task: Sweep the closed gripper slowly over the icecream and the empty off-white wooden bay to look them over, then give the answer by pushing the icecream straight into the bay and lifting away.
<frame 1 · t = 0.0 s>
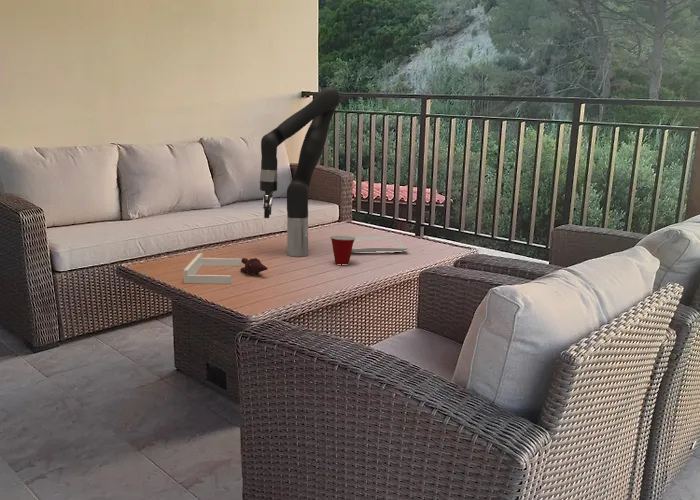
hand: (267, 216, 280), 17 cm above the table, tool pointing down, fingers open, 8 cm apart
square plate: (373, 249, 300), on the table
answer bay: (216, 273, 250), on the table
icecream: (254, 275, 250), on the table
plastic cup: (342, 264, 271), on the table
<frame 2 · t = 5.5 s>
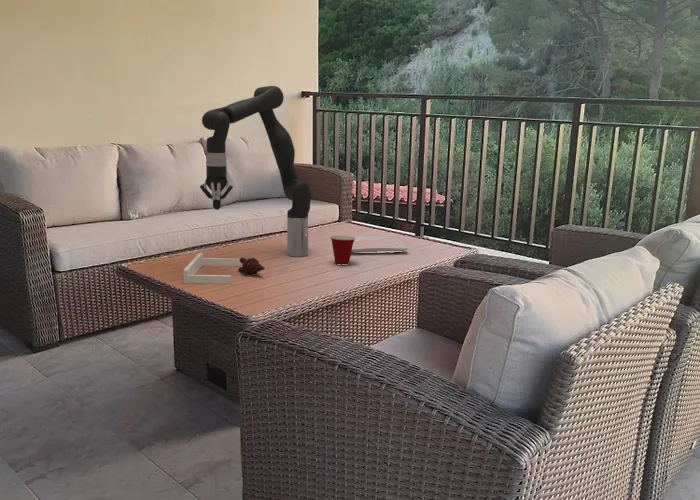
hand: (216, 209, 246), 26 cm above the table, tool pointing down, fingers closed
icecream: (251, 275, 250), on the table
everything else where it was.
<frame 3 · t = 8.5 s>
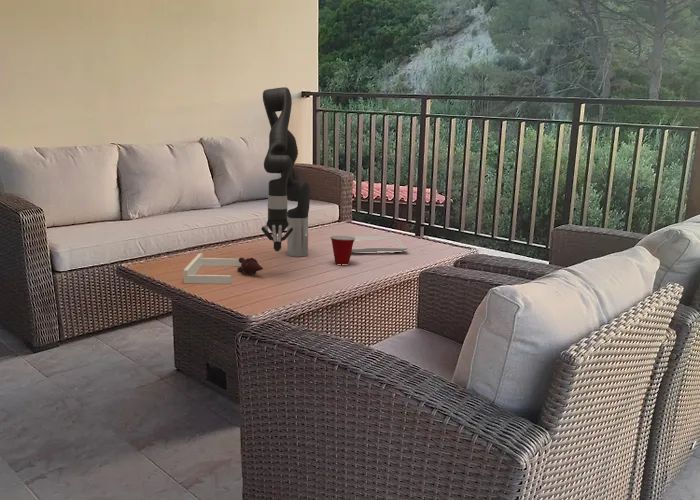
hand: (277, 250, 248), 10 cm above the table, tool pointing down, fingers closed
nothing on the table moved.
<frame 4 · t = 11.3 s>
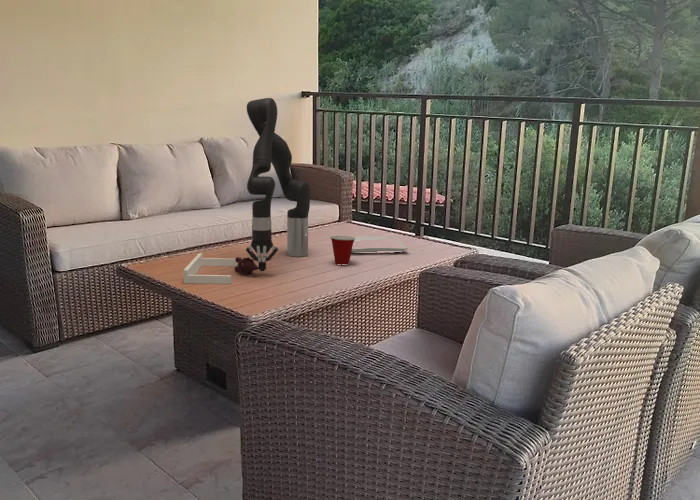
hand: (262, 270, 250), 2 cm above the table, tool pointing down, fingers closed
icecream: (246, 274, 251), on the table, touching gripper
everything else where it was.
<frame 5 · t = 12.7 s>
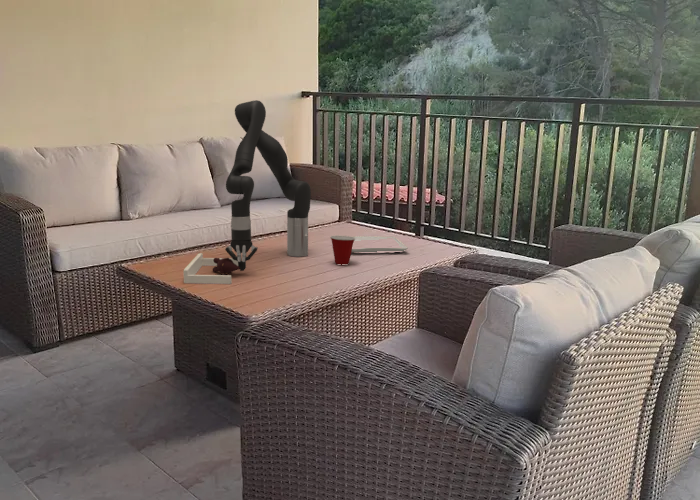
hand: (242, 270, 249), 2 cm above the table, tool pointing down, fingers closed
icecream: (226, 274, 249), on the table, touching gripper
everything else where it was.
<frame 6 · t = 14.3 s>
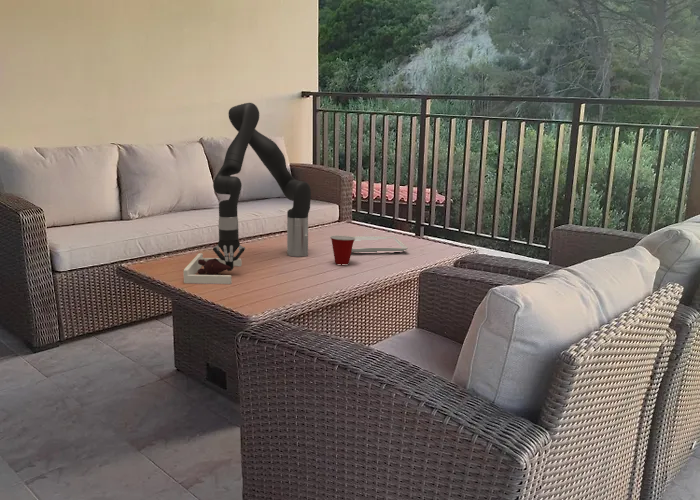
hand: (229, 270, 250), 1 cm above the table, tool pointing down, fingers closed
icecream: (214, 275, 248), on the table, touching gripper
everything else where it was.
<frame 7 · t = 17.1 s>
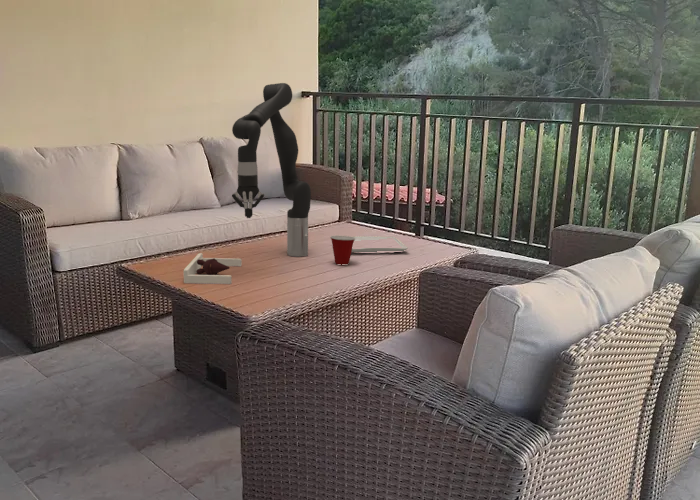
hand: (248, 217, 247), 22 cm above the table, tool pointing down, fingers closed
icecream: (213, 275, 248), on the table
everything else where it was.
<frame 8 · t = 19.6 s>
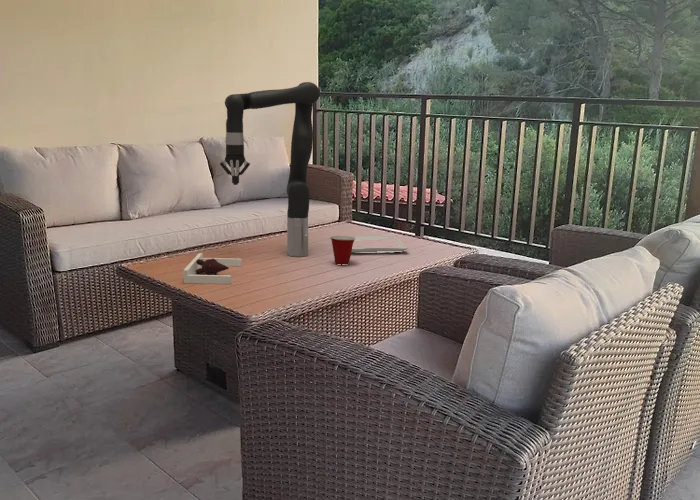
hand: (235, 184, 269), 32 cm above the table, tool pointing down, fingers closed
nothing on the table moved.
at the end: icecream inside the target area on the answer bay (1.9 cm from its centre), point 0.0 cm above the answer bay's base; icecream tilted 0° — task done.
